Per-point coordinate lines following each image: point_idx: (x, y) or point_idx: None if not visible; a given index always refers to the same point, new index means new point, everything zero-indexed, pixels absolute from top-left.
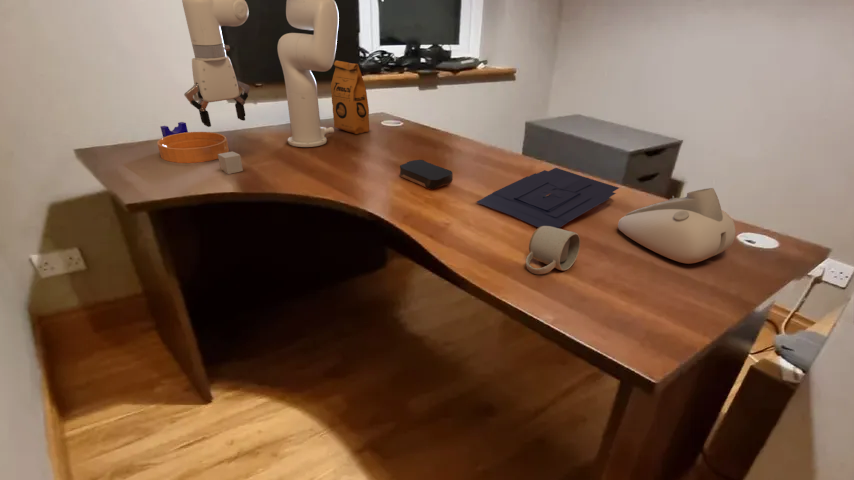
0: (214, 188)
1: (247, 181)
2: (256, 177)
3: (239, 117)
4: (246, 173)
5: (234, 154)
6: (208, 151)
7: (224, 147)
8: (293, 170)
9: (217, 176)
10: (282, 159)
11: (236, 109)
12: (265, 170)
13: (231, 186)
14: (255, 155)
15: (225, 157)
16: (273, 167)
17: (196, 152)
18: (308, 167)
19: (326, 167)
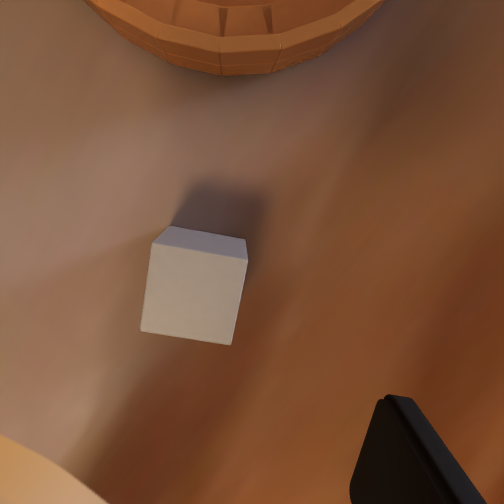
0: (19, 398)
1: (162, 420)
2: (216, 408)
3: (372, 450)
4: None
5: (214, 318)
6: (200, 56)
7: (338, 35)
8: None
9: (108, 287)
10: (459, 301)
11: (425, 494)
12: (300, 366)
13: (82, 423)
14: (438, 150)
15: (146, 327)
16: (350, 359)
17: (122, 27)
18: None
19: None
